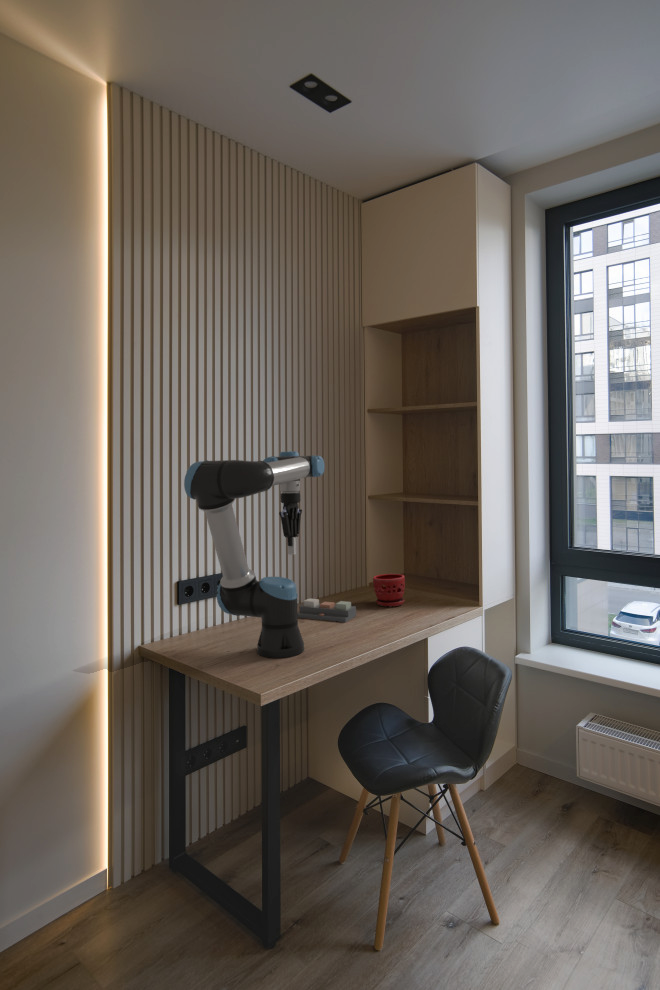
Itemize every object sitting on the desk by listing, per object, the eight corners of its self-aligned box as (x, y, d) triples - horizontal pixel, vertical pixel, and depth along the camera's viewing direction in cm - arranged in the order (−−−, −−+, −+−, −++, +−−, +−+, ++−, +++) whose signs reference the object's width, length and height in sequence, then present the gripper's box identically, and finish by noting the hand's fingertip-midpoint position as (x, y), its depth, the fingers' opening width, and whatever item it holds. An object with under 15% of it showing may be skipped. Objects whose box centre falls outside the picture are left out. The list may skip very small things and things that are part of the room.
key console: (345, 622, 229) (345, 612, 229) (296, 617, 239) (296, 607, 238) (356, 616, 238) (355, 606, 237) (308, 611, 247) (307, 602, 247)
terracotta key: (330, 612, 236) (329, 605, 236) (319, 611, 238) (319, 604, 238) (335, 610, 240) (334, 602, 240) (325, 609, 242) (324, 601, 242)
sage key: (346, 612, 233) (346, 604, 233) (335, 611, 235) (335, 603, 235) (351, 609, 237) (350, 601, 237) (340, 608, 239) (340, 601, 239)
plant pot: (405, 600, 260) (404, 572, 260) (405, 608, 247) (404, 578, 247) (374, 600, 262) (373, 573, 261) (373, 608, 249) (372, 579, 248)
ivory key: (313, 609, 239) (313, 601, 239) (304, 608, 241) (303, 600, 241) (319, 606, 243) (318, 599, 243) (309, 605, 245) (309, 598, 245)
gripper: (289, 493, 224) (291, 557, 225) (307, 491, 235) (309, 552, 237) (272, 493, 228) (274, 556, 229) (291, 491, 239) (292, 551, 240)
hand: (292, 554), depth 233 cm, fingers closed
